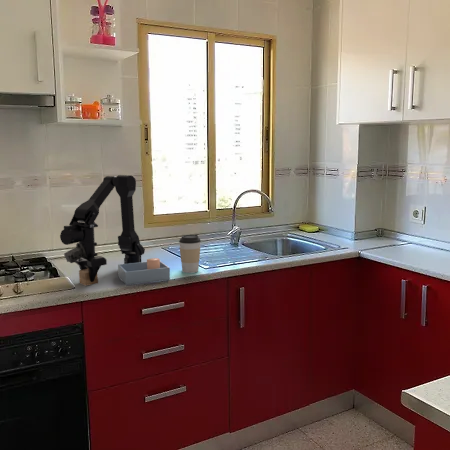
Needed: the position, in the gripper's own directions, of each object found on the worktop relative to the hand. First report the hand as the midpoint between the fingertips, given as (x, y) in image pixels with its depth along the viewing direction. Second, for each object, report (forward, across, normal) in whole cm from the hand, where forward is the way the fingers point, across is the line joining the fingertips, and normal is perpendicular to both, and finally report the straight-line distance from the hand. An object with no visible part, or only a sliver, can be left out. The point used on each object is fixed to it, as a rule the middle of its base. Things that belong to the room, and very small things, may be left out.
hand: (88, 280), depth 193 cm
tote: (+1, +9, +19) cm, 21 cm away
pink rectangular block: (0, +12, +22) cm, 25 cm away
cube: (+1, 0, 0) cm, 1 cm away
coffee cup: (+1, +12, +40) cm, 42 cm away
